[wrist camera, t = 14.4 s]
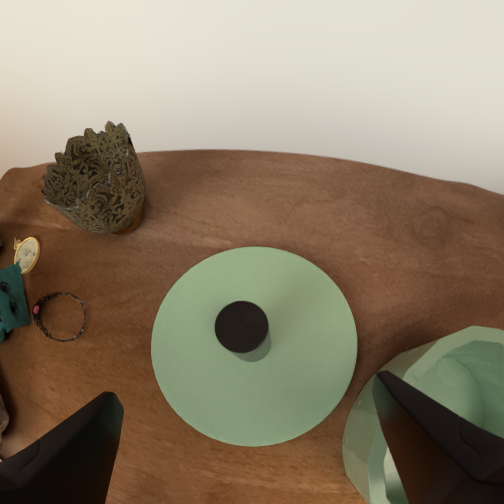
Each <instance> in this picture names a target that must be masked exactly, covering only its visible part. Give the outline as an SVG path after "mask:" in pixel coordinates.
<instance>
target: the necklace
mask: <svg viewBox="0 0 504 504" xmlns="http://www.w3.org/2000/svg"><path fill="white" fill-rule="evenodd" d="M62 293H63V292H62ZM51 294H52V293H51ZM56 294H57V295H58V296H59V295H62V294H60V293H56ZM56 294H53V295H54V296H55V297H57V296H56ZM63 294H65V293H63ZM66 295H68V294H66ZM69 295H70V294H69ZM47 296H48V295H46V297H47ZM49 296H50V295H49ZM49 296H48V299H47V298H46V297H45V296H43V297H42V300H41V298H40V299H39V300H41V302H42V301H45V302H47V301H48V300H50V297H51V296H50V297H49ZM71 296H72V294H71ZM73 296H74V295H73ZM44 297H45V298H44ZM74 297H75V298H77V300H79V299H78V297H76V296H74ZM52 298H54V297H53V296H52V297H51V300H52ZM45 299H46V300H47V301H46V300H45ZM39 300H38V302H37V304H35V306H33V308H34V309H33V311H32V315H33V313H34V316H33V318H35V317H36V316H37V317H36V321H38V318H39V315H40V314H39V313H40V311H41V309H40V307H41V306H43V305H42V304H45V303H44V302H43V303H41V302H40V301H39ZM79 302H81V304H82V303H83V302H82V301H80V300H79ZM40 303H41V304H40ZM38 304H40V305H41V306H40V305H38ZM39 306H40V307H39ZM44 306H45V305H44ZM82 306H83V309H85V306H84V304H82ZM38 309H40V311H38ZM84 311H85V312H86V309H85V310H84ZM85 314H86V313H84V315H85ZM40 318H41V317H40ZM84 319H86V318H85V317H84ZM33 320H34V322H35V319H33ZM39 320H40V319H39ZM40 322H41V323H42V319H41V321H40ZM40 322H39V323H40ZM85 322H86V320H85ZM85 322H84V324H85ZM35 323H36V322H35ZM39 323H38V322H37V324H39ZM37 324H36V325H37ZM42 325H43V324H42ZM37 326H40V324H39V325H37ZM43 326H44V325H43ZM43 326H41V329H43V328H42V327H43ZM83 326H85V325H83ZM83 326H82V327H83ZM45 329H46V328H45ZM45 329H43V330H44V331H45ZM82 329H84V327H83V328H82ZM46 330H47V332H48V329H46ZM41 331H42V330H41ZM82 331H83V330H82ZM44 333H45V332H44ZM79 333H80V334H78V336H76V338H75V339H77V337H79V336H80V335H81V332H79ZM45 335H46V337H48V333H47V334H46V333H45ZM50 337H51V334H50V333H49V339H51V338H52V339H53V340H55V339H56V338H55V339H54V337H51V338H50ZM75 339H74V340H75ZM57 340H58V339H57ZM57 340H56V341H57ZM58 341H60V340H58ZM61 341H62V342H64V341H66V342H68V340H61ZM61 341H60V342H61ZM70 341H73V338H72V339H70ZM70 341H69V342H70Z"/></svg>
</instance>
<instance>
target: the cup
mask: <svg viewBox="0 0 504 504" xmlns="http://www.w3.org/2000/svg"><path fill="white" fill-rule="evenodd" d="M105 130H106V132H103V131H101V132H100V133H98V134H96V133H95V132H93V129H92V128H86V129H85V131H84V136H75V137H72V138H69V139H68V141H67V145H66V150H65V153H63V154H64V155H63V154H62V153H60V152H59V153H55V159H56V161H57V165H54V164H51V165H48V166H47V167H46V173H47V175H42V177H43V180H44V183H45V187H46V188H47V189H41V188H40V190H41V192H42V193H43V194H44V196H45V198H44V199H43V200H44V201H45V202H46V203H48V204H49V205H50V206H52V207H53V208H54V209H56V210H57V211H58V212H60V213H61V214H62V215H64V216H65V217H66V218H68V219H69V220H70V221H72V222H73V223H75V224H76V225H78V226H79V227H81V228H83V229H84V230H87V231H89V232H91V233H96V234H109V233H111V234H114V235H125V234H128V233H130V232H131V231H133V230H134V229H135V228H136V227H137V226H138V224H139V223H140V221H141V218H142V204H143V201H144V197H145V182H144V177H143V173H142V170H141V167H140V164H139V161H138V158H137V155H136V152H135V150H134V147H133V144H132V141H131V138H130V137H129V135H130V134H128V132H127V130H126V128H125V126H124V125H123V124H122V123H120V124H118V125H117V126H116V127H115V125H114V124H113V123H112V122H110V121H108V122H107V123H106V125H105Z"/></svg>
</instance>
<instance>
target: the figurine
mask: <svg viewBox="0 0 504 504" xmlns="http://www.w3.org/2000/svg"><path fill="white" fill-rule="evenodd" d="M19 263H20V262H16V264H11V265H10V266H8V267H7V268H6V269H4V268H2V270H0V343H1V342H2V341H3V339H4V336H5V329H6V332H9V331H10V330H11V329H13V328H17V327H20V326H23V327H24V325H28V324H30V317H29V315H28V314H29V311H28V308H27V303H26V302H25V301H26V297H25V295H24V294H23V292H24V291H23V289H24V288H23V284H22V283H23V280H22V274H21V272H22V270H21V267H20V266H19Z"/></svg>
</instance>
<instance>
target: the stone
mask: <svg viewBox="0 0 504 504" xmlns="http://www.w3.org/2000/svg"><path fill="white" fill-rule="evenodd" d="M8 422H9V416H8V413H7V411H6V409H5V406H4V403H3V400H2V397H1V394H0V449H1V447H2V441H1V432H2V431H3V430H5V428H6V426H7V424H8Z"/></svg>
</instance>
